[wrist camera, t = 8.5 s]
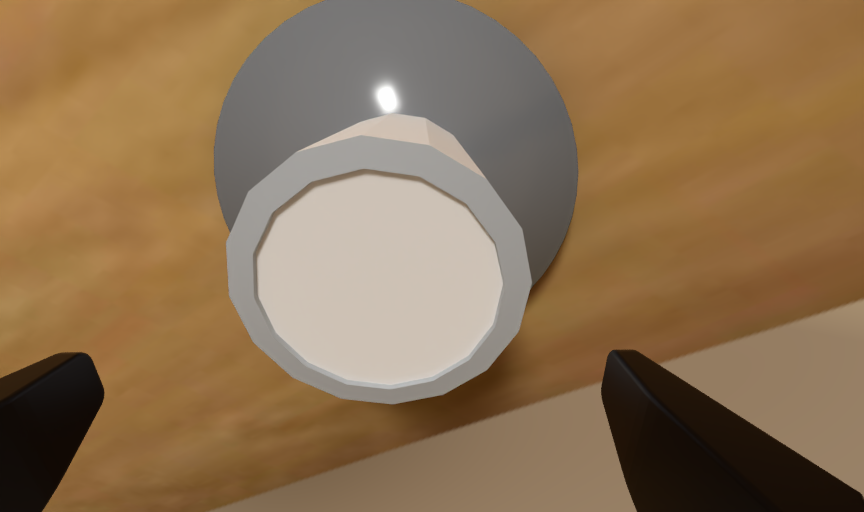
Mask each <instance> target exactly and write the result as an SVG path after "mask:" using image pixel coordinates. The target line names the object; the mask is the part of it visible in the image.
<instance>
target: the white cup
mask: <svg viewBox="0 0 864 512" xmlns="http://www.w3.org/2000/svg"><path fill="white" fill-rule="evenodd" d="M226 250H227V267H228V284H229V297H230V298H231V300H232V302H233V304H234V306H235V308H236V310H237V312H238V314H239V316H240V318H241V320H242V322H243V323H244V325H245V327H246V329H247V331H248V333H249V335H250V337H251V339H252V341H253V343H255V344H256V345H257V346H258V347H259V348H260V349H261V350H262V351H264V352H265V353H266V354H267V355H268V356H269V357H270V358H271V359H272V360H274V361H275V362H276V363H277V364H278V365H279V366H280V367H281V368H283V369H284V370H285V371H286V372H287V373H288V374H289V375H290V376H292V377H293V378H295V379H297V380H300V381H302V382H304V383H306V384H309V385H311V386H313V387H316V388H318V389H320V390H323V391H325V392H327V393H329V394H332V395H334V396H336V397H339V398H341V399H350V400H359V401H368V402H376V403H385V404H397V403H403V402H408V401H413V400H418V399H423V398H429V397H434V396H439V395H444V394H445V393H447V392H449V391H451V390H453V389H454V388H456V387H458V386H460V385H461V384H463V383H465V382H467V381H468V380H470V379H472V378H474V377H476V376H477V375H479V374H481V373H483V372H484V371H486V370H487V369H488V368H489V367H490V366H491V365H492V363H493V362H494V361H495V360H496V358H497V357H498V356H499V355H500V354H501V352H502V351H503V350H504V349H505V348H506V346H507V345H508V344H509V343H510V341H511V340H512V339H513V338H514V337H515V335H516V334H517V333H518V332H519V328H520V325H521V321H522V317H523V314H524V310H525V306H526V303H527V299H528V296H529V292H530V288H531V285H532V280H531V274H530V269H529V263H528V258H527V252H526V247H525V241H524V235H523V230H522V228H521V226H520V225H519V224H518V222H517V221H516V219H515V218H514V217H513V215H512V214H511V212H510V211H509V210H508V208H507V207H506V205H505V204H504V203H503V201H502V200H501V198H500V197H499V196H498V194H497V193H496V191H495V190H494V189H493V187H492V186H491V184H490V183H489V182H488V180H487V179H486V177H485V176H484V175H483V174H482V172H481V171H480V170H479V168H478V167H477V166H476V164H475V163H474V162H473V160H472V159H471V158H470V156H469V155H468V154H467V152H466V151H465V150H464V149H463V147H462V146H461V145H460V143H459V142H458V141H457V139H456V138H455V137H454V135H452V134H451V133H449V132H448V131H446V130H444V129H443V128H441V127H439V126H438V125H436V124H434V123H433V122H431V121H430V120H428V119H426V118H423V117H416V116H409V115H403V114H396V113H391V114H387V115H384V116H380V117H376V118H372V119H368V120H365V121H361V122H359V123H357V124H355V125H353V126H351V127H348V128H346V129H344V130H342V131H340V132H338V133H336V134H333V135H331V136H329V137H327V138H325V139H323V140H321V141H319V142H316V143H314V144H312V145H310V146H308V147H306V148H304V149H301V150H299V151H297V152H295V153H294V154H293V155H292V156H291V157H289V158H288V159H287V160H286V161H285V162H283V163H282V164H281V165H280V166H278V167H277V168H276V169H275V170H274V171H272V172H271V173H270V174H269V175H268V176H266V177H265V178H264V179H263V180H262V181H260V182H259V183H258V184H257V185H256V186H254V187H253V188H252V189H251V190H249V191H248V193H247V196H246V198H245V200H244V203H243V205H242V207H241V210H240V212H239V214H238V217H237V219H236V221H235V223H234V226H233V228H232V230H231V233H230V235H229V237H228V240H227V242H226Z"/></svg>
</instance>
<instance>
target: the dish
mask: <svg viewBox="0 0 864 512" xmlns="http://www.w3.org/2000/svg"><path fill="white" fill-rule="evenodd" d="M391 113H396V114H403V115H409V116H416V117H423V118H426V119H428V120H430V121H431V122H433V123H434V124H436V125H438V126H439V127H441V128H443V129H444V130H446V131H448V132H449V133H451V134H452V135H454V137H455V138H456V139H457V141H458V142H459V143H460V145H461V146H462V147H463V149H464V150H465V151H466V152H467V154H468V155H469V156H470V158H471V159H472V160H473V162H474V163H475V164H476V166H477V167H478V168H479V170H480V171H481V172H482V174H483V175H484V176H485V177H486V179H487V180H488V182H489V183H490V184H491V186H492V187H493V189H494V190H495V191H496V193H497V194H498V196H499V197H500V198H501V200H502V201H503V203H504V204H505V205H506V207H507V208H508V210H509V211H510V212H511V214H512V215H513V217H514V218H515V219H516V221H517V222H518V224H519V225H520V226H521V228H522V230H523V235H524V241H525V247H526V252H527V258H528V263H529V269H530V274H531V280H532V285H531V288H532V287H533V286H534V284H535V283H536V282H537V281H538V280H539V279H540V278H541V276H542V275H543V274H544V272H545V271H546V270H547V268H548V267H549V265H550V264H551V262H552V261H553V259H554V258H555V256H556V254H557V252H558V250H559V248H560V246H561V244H562V242H563V240H564V238H565V235H566V233H567V230H568V227H569V224H570V221H571V218H572V214H573V210H574V205H575V200H576V195H577V182H578V161H577V147H576V143H575V138H574V133H573V128H572V124H571V121H570V118H569V115H568V112H567V110H566V107H565V104H564V101H563V99H562V97H561V95H560V93H559V92H558V90H557V88H556V86H555V84H554V82H553V80H552V78H551V77H550V75H549V74H548V73H547V71H546V70H545V68H544V67H543V66H542V64H541V63H540V61H539V60H538V59H537V57H536V56H535V55H534V54H533V53H532V52H531V51H530V50H529V49H528V48H527V47H526V46H525V45H524V44H523V43H522V42H521V41H520V39H519V38H518V37H516V36H515V35H514V34H512V33H511V32H510V31H509V30H507V29H506V28H505V27H503V26H502V25H501V24H500V23H498V22H497V21H496V20H494V19H492V18H490V17H489V16H487V15H485V14H483V13H482V12H480V11H478V10H476V9H475V8H473V7H471V6H468V5H466V4H463V3H461V2H458V1H455V0H325V1H322V2H320V3H318V4H315V5H313V6H310V7H308V8H306V9H305V10H303V11H301V12H300V13H298V14H296V15H295V16H293V17H291V18H290V19H288V20H286V21H285V22H284V23H282V24H281V25H280V26H279V27H278V28H276V29H275V30H274V31H273V32H272V33H270V34H269V35H268V36H267V37H266V38H264V40H263V41H262V42H261V43H260V44H259V45H258V46H257V48H256V49H255V50H254V51H253V52H252V53H251V54H250V55H249V57H248V58H247V59H246V61H245V62H244V64H243V66H242V67H241V69H240V70H239V72H238V73H237V75H236V77H235V78H234V80H233V82H232V84H231V87H230V89H229V91H228V93H227V96H226V98H225V100H224V102H223V106H222V110H221V113H220V117H219V120H218V124H217V130H216V138H215V146H214V175H215V181H216V188H217V195H218V199H219V202H220V206H221V209H222V213H223V216H224V219H225V222H226V224H227V226H228V229H229V231H230V233H231V230H232V228H233V226H234V223H235V221H236V219H237V217H238V214H239V212H240V210H241V207H242V205H243V203H244V200H245V198H246V196H247V193H248V191H249V190H251V189H252V188H253V187H254V186H256V185H257V184H258V183H259V182H260V181H262V180H263V179H264V178H265V177H266V176H268V175H269V174H270V173H271V172H272V171H274V170H275V169H276V168H277V167H278V166H280V165H281V164H282V163H283V162H285V161H286V160H287V159H288V158H289V157H291V156H292V155H293V154H294V153H295V152H297V151H299V150H301V149H304V148H306V147H308V146H310V145H312V144H314V143H316V142H319V141H321V140H323V139H325V138H327V137H329V136H331V135H333V134H336V133H338V132H340V131H342V130H344V129H346V128H348V127H351V126H353V125H355V124H357V123H359V122H361V121H365V120H368V119H372V118H376V117H380V116H384V115H387V114H391ZM531 288H530V289H531Z"/></svg>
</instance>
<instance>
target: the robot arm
mask: <svg viewBox="0 0 864 512" xmlns="http://www.w3.org/2000/svg"><path fill="white" fill-rule="evenodd" d="M601 395H602V401H603V405H604V408H605V412H606V415H607V418H608V422H609V426H610V429H611V433H612V436H613V439H614V443H615V447H616V450H617V454H618V457H619V461H620V464H621V468H622V471H623V474H624V478H625V481H626V484H627V487H628V490H629V492H630V495H631V498H632V500H633V503H634V505H635V508H636V510H637V512H864V498H863V496H862V494H861V493H860V492H858V491H856V490H855V489H853V488H851V487H850V486H848V485H847V484H845V483H844V482H842V481H841V480H839V479H838V478H836V477H834V476H833V475H831V474H830V473H828V472H827V471H825V470H823V469H822V468H820V467H819V466H817V465H815V464H814V463H812V462H811V461H809V460H808V459H806V458H805V457H803V456H801V455H800V454H798V453H797V452H795V451H794V450H792V449H790V448H789V447H787V446H786V445H784V444H783V443H781V442H779V441H778V440H776V439H775V438H773V437H772V436H770V435H768V434H767V433H765V432H764V431H762V430H761V429H759V428H757V427H756V426H754V425H753V424H751V423H750V422H748V421H746V420H745V419H743V418H741V417H740V416H738V415H737V414H735V413H734V412H732V411H731V410H729V409H727V408H726V407H724V406H723V405H721V404H720V403H718V402H716V401H715V400H713V399H712V398H710V397H709V396H707V395H705V394H704V393H702V392H701V391H699V390H698V389H696V388H694V387H693V386H691V385H690V384H688V383H687V382H685V381H683V380H682V379H680V378H679V377H677V376H676V375H674V374H672V373H671V372H669V371H668V370H666V369H664V368H663V367H661V366H660V365H658V364H657V363H655V362H654V361H652V360H650V359H649V358H647V357H646V356H644V355H643V354H641V353H639V352H638V351H636V350H612V351H611V352H610V353H609V355H608V357H607V362H606V367H605V372H604V376H603V381H602V387H601ZM103 399H104V388H103V385H102V382H101V380H100V378H99V375H98V373H97V370H96V368H95V365H94V363H93V360H92V359H91V357H90V356H89V355H88V354H86V353H82V352H64V353H58V354H55V355H53V356H50V357H48V358H46V359H43V360H41V361H39V362H37V363H34V364H32V365H30V366H27V367H25V368H23V369H20V370H18V371H16V372H14V373H11V374H9V375H7V376H4V377H2V378H0V512H42V511H43V509H44V508H45V506H46V505H47V503H48V502H49V500H50V498H51V497H52V495H53V493H54V492H55V490H56V489H57V487H58V485H59V483H60V482H61V480H62V478H63V476H64V474H65V473H66V471H67V469H68V467H69V465H70V463H71V461H72V459H73V458H74V456H75V454H76V452H77V450H78V448H79V446H80V444H81V443H82V441H83V439H84V437H85V435H86V433H87V431H88V429H89V427H90V426H91V424H92V422H93V420H94V418H95V416H96V414H97V412H98V411H99V409H100V407H101V405H102V403H103Z"/></svg>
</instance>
